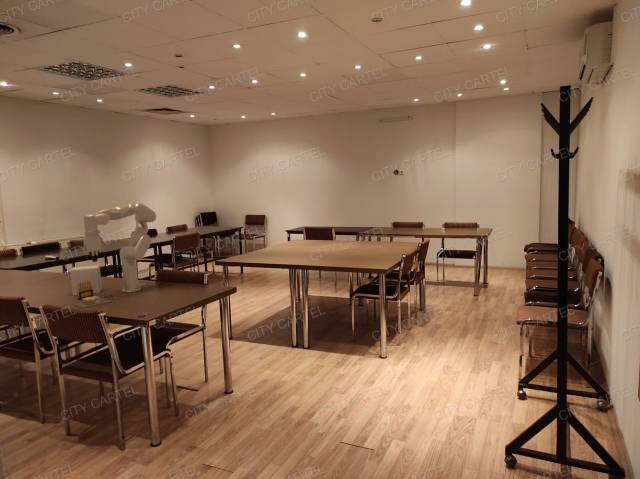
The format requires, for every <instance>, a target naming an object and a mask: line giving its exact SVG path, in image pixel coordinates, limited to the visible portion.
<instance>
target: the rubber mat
mask: <svg viewBox="0 0 640 479" xmlns="http://www.w3.org/2000/svg"><path fill="white" fill-rule="evenodd" d="M100 299H101V302H99V303H94V304H89V305H87V304H84V303H83V301H82V302H78V303H73V306H75V307H77V308H81V309H86V308H92V307H96V306H99V305H104V304H110V303H113V301H112V300H111V299H110V300H109V299H106V298H102V297H100Z"/></svg>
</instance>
